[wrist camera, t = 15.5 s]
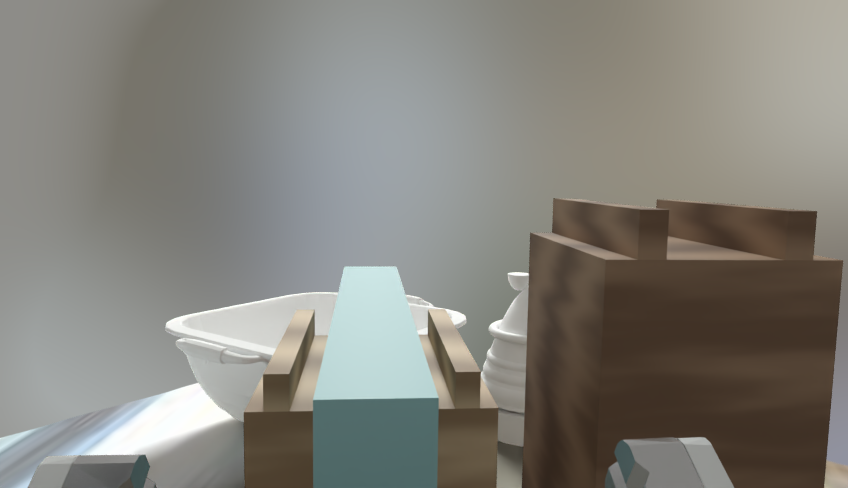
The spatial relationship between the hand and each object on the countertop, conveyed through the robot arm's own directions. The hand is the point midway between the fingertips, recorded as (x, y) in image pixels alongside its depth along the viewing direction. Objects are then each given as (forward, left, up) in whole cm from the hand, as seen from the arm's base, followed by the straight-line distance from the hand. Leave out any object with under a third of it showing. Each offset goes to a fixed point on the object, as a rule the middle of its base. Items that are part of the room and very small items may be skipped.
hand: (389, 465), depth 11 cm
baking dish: (+42, +50, -24) cm, 70 cm away
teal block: (+14, +14, -4) cm, 20 cm away
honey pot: (+57, +30, -24) cm, 69 cm away
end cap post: (+24, +4, -24) cm, 34 cm away
